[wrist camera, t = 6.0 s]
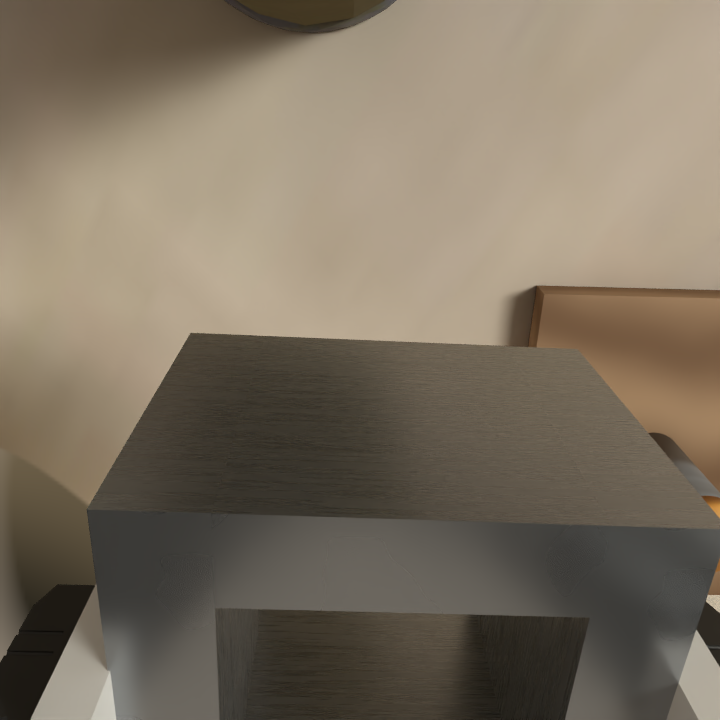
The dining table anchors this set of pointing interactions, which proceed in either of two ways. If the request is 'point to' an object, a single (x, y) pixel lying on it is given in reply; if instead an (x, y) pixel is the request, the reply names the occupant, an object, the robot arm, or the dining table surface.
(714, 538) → the grey hollow block
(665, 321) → the wooden base with peg
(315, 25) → the canister
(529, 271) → the dining table surface
